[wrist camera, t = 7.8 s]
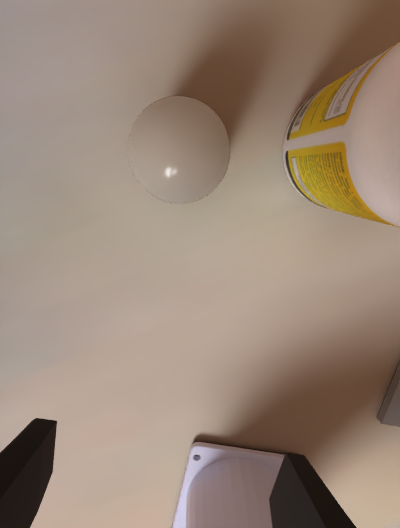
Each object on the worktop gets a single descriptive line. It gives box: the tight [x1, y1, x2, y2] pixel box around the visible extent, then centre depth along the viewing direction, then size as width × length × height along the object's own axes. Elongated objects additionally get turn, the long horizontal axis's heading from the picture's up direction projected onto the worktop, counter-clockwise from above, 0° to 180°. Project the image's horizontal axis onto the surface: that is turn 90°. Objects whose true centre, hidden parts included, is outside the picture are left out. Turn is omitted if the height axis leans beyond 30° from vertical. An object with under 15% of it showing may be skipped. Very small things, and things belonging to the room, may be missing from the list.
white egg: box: [128, 96, 230, 204], centre depth 15 cm, size 4×4×5 cm
